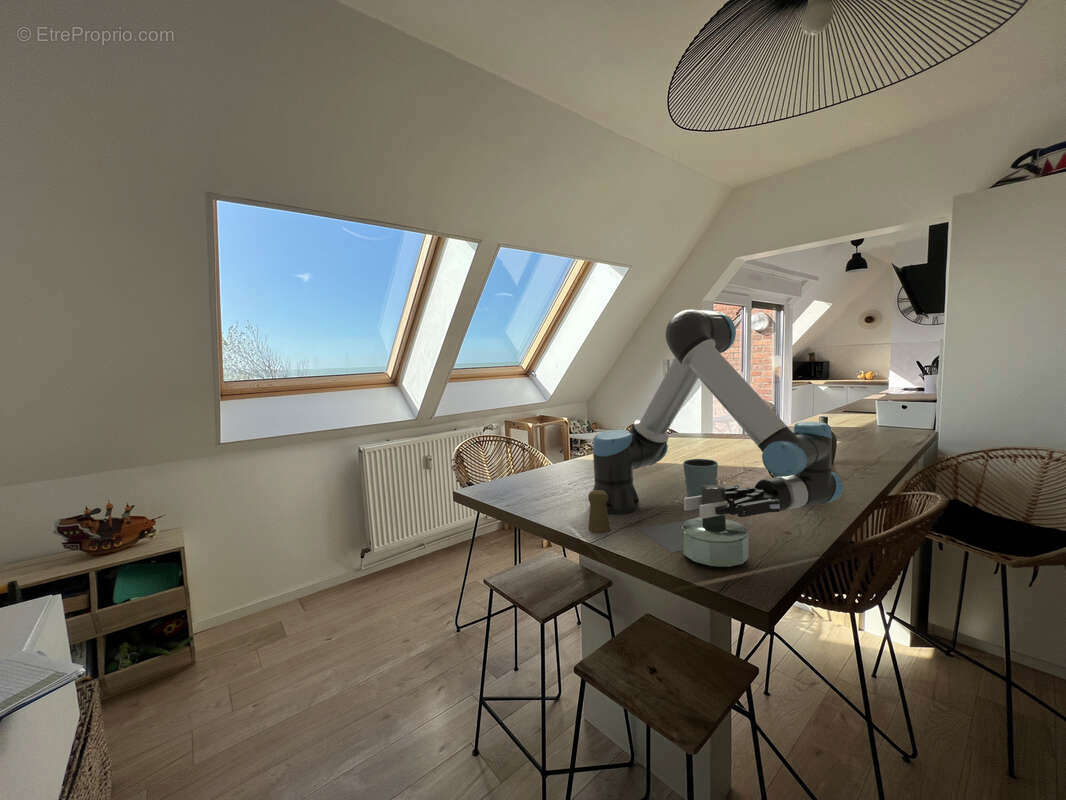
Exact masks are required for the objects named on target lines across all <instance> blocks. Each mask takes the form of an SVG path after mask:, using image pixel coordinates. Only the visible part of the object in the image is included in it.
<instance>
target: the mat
mask: <svg viewBox="0 0 1066 800" xmlns="http://www.w3.org/2000/svg"><path fill="white" fill-rule="evenodd" d="M687 520H688V519H687ZM687 520H680V521H675V522H668V523H663V524H658V525H657V524H656V525H652V526H645V527H639V528H636V530H637V531H639V532H640V533H642V534H644V535H645V536H646V537H647V538H649V539H651V540H652V541H653V542H655V543H656V544H657V545H659V546H661V548H664V549H665V550H667V552H669V553H672V554H673V553H677V552H683V539H682V527H683V523H684V522H685V521H687Z"/></svg>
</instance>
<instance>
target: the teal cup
mask: <svg viewBox="0 0 1066 800" xmlns="http://www.w3.org/2000/svg"><path fill="white" fill-rule="evenodd" d="M682 464H683V471H684V480H685V486H686V495H687V497H694V496H700V495H702V486H704V485H718V484H717V483H718V480H717V478H718V467H719V465H718V464H719V463H718V461H716V460H713V459H710V458H709V459H708V458H707V459H706V458H692V459H686V460H684V461H683V463H682ZM687 497H686V498H687Z"/></svg>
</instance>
